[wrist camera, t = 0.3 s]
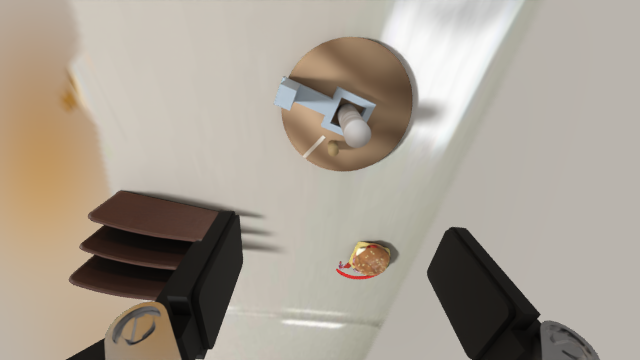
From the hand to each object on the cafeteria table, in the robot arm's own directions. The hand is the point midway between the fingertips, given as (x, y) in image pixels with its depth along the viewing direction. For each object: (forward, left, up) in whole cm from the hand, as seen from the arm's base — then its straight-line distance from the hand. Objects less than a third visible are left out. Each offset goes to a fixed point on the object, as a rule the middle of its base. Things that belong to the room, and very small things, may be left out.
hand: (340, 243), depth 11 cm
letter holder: (+32, -19, -30) cm, 48 cm away
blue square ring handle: (-1, 0, -28) cm, 28 cm away
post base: (-1, +3, -29) cm, 30 cm away
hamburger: (+27, +21, -30) cm, 46 cm away
